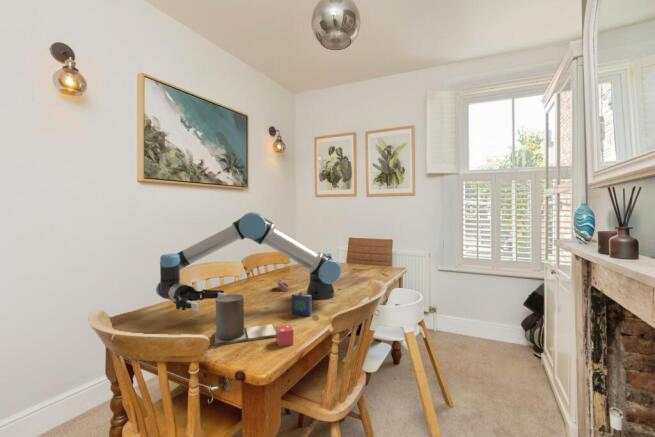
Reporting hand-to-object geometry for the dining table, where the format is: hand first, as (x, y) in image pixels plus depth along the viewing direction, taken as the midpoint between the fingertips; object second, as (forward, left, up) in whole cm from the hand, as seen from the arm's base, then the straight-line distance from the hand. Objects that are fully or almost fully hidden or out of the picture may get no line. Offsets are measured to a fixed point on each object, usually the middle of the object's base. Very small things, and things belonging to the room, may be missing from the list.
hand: (214, 302), depth 115 cm
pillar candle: (-5, +8, -10) cm, 14 cm away
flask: (-36, -6, -11) cm, 38 cm away
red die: (-23, +19, -11) cm, 32 cm away
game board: (-11, +8, -11) cm, 17 cm away
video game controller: (-38, -52, -11) cm, 65 cm away
